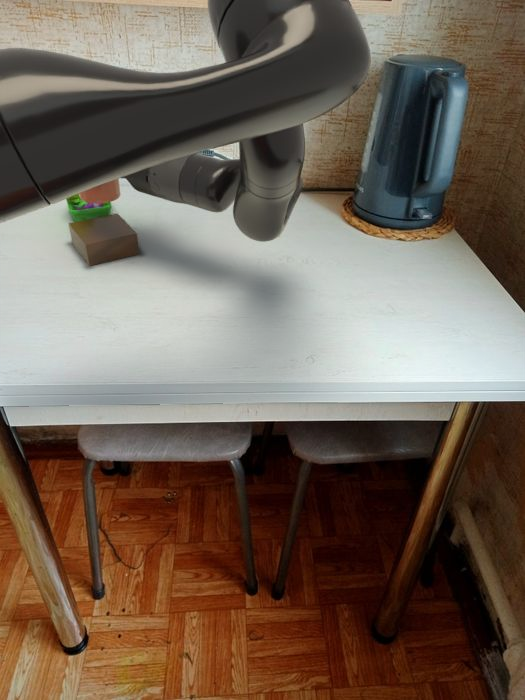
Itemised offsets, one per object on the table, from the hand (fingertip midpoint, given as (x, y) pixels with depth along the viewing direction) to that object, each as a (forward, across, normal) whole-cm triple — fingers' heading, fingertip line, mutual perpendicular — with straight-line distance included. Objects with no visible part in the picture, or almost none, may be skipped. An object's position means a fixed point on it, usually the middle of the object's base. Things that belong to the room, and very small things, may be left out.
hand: (82, 148), depth 79 cm
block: (0, -1, +18) cm, 18 cm away
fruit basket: (+10, -8, +18) cm, 22 cm away
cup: (-2, 0, +7) cm, 7 cm away
